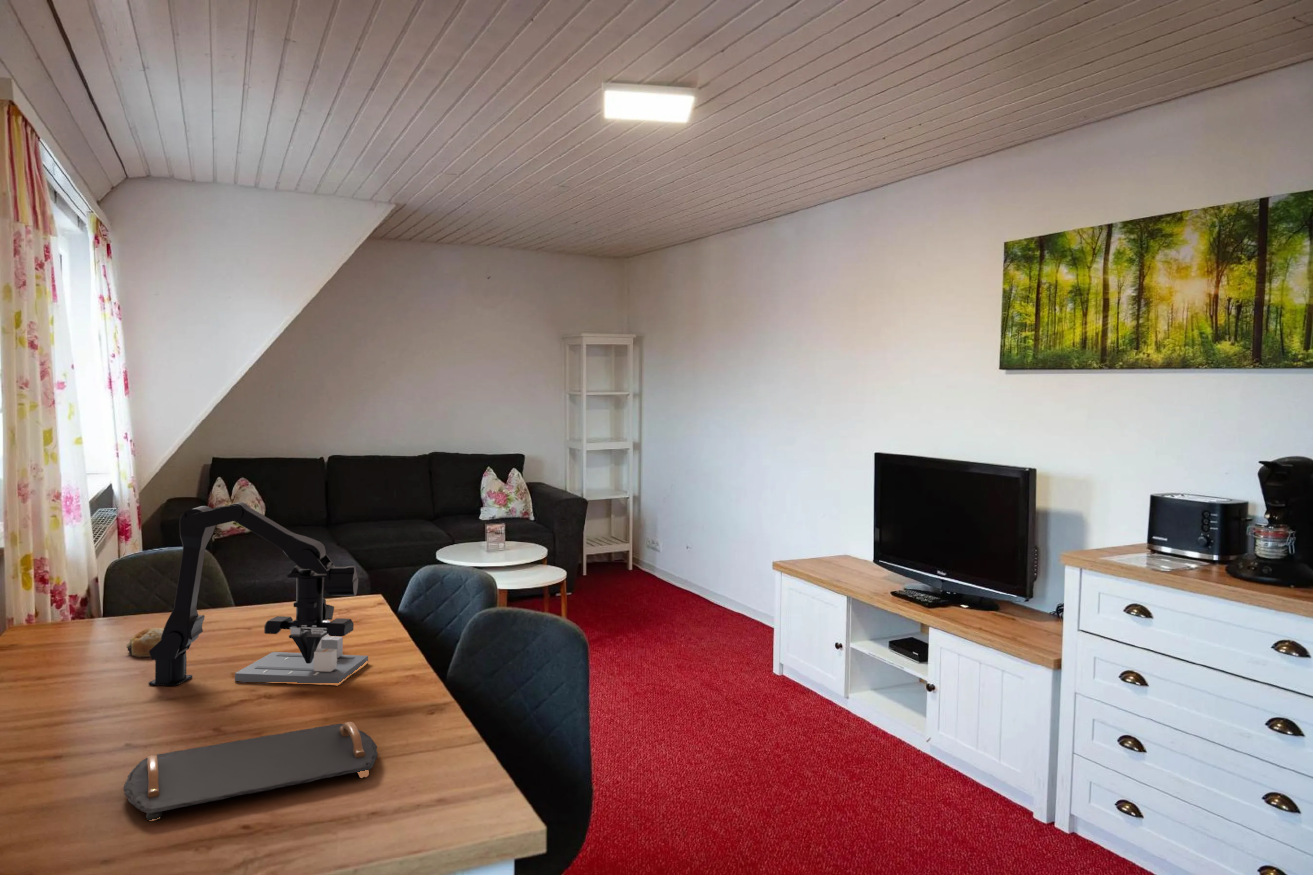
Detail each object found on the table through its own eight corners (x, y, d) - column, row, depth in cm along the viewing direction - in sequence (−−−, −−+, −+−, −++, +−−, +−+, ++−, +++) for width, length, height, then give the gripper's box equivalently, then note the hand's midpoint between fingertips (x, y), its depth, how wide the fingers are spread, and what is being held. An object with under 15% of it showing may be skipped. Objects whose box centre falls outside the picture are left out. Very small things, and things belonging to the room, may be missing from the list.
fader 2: (330, 671, 192) (331, 651, 191) (313, 670, 192) (314, 651, 192) (336, 667, 195) (336, 648, 194) (319, 666, 195) (320, 647, 195)
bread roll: (151, 673, 206) (165, 644, 205) (114, 654, 206) (128, 625, 205) (175, 661, 216) (188, 633, 215) (139, 643, 216) (153, 615, 215)
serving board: (359, 733, 163) (359, 702, 163) (390, 779, 143) (391, 743, 143) (124, 776, 142) (124, 740, 142) (122, 835, 123) (123, 794, 123)
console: (338, 686, 189) (338, 676, 188) (234, 681, 190) (234, 672, 190) (368, 663, 205) (368, 655, 205) (272, 659, 207) (272, 651, 207)
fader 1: (337, 658, 202) (337, 639, 202) (321, 657, 202) (321, 639, 202) (342, 654, 205) (342, 636, 205) (326, 654, 205) (326, 635, 205)
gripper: (363, 589, 200) (362, 654, 201) (287, 587, 201) (286, 651, 202) (343, 600, 189) (342, 668, 190) (263, 597, 190) (262, 665, 191)
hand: (309, 662), depth 193 cm, fingers closed
